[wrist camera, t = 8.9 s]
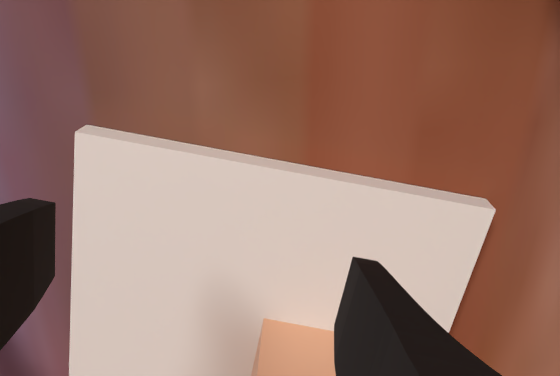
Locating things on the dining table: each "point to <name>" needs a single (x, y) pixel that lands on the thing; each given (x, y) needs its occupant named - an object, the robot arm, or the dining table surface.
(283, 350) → the peach cube
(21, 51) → the dining table surface
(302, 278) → the base plate
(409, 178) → the dining table surface
